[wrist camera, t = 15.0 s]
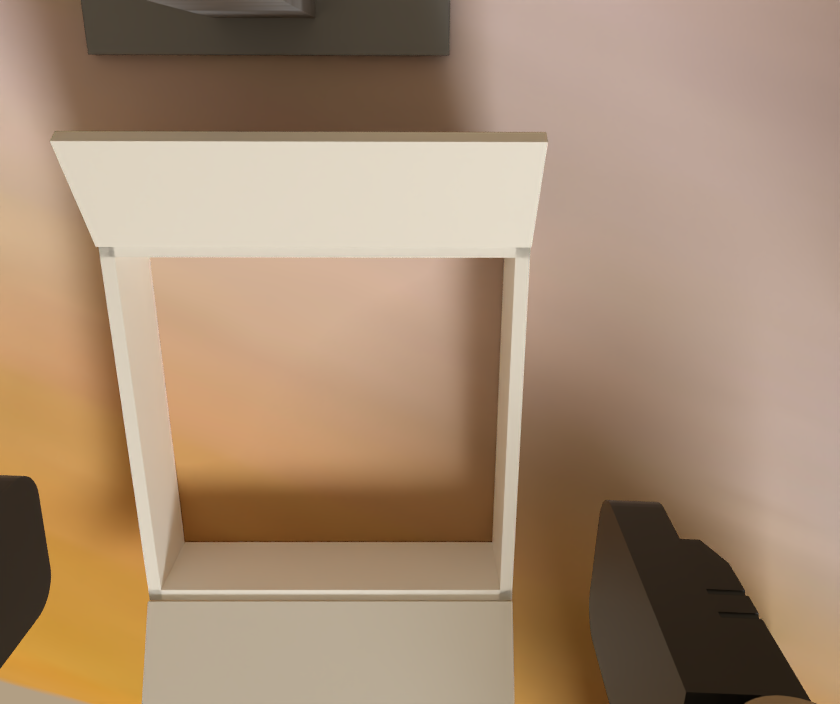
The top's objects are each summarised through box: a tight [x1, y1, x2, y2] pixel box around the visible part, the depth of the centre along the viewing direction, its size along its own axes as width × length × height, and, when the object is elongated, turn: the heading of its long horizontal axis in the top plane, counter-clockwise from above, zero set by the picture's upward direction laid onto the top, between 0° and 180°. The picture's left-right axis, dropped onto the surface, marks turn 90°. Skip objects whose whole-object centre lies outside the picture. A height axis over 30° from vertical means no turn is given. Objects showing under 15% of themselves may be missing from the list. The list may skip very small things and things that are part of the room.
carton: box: [50, 131, 548, 704], centre depth 35 cm, size 18×27×7 cm, turn 0°
